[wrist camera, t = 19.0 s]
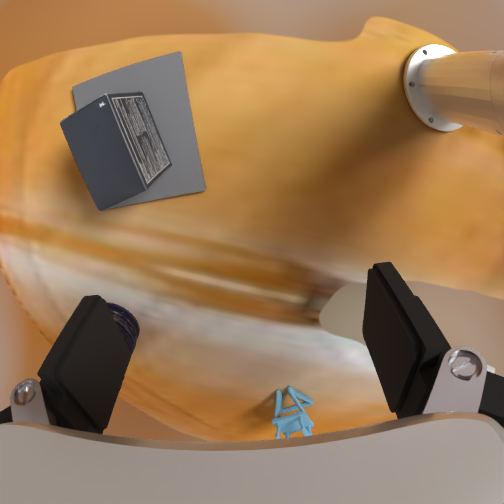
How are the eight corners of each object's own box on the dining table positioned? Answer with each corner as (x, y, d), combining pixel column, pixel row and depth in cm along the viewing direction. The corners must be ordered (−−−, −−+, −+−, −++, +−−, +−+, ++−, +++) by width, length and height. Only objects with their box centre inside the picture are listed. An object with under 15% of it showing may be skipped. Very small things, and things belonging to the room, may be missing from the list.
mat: (181, 52, 30) (179, 51, 30) (206, 188, 39) (205, 190, 38) (75, 86, 31) (72, 86, 30) (104, 208, 39) (102, 210, 39)
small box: (99, 113, 32) (55, 122, 23) (143, 89, 32) (107, 89, 22) (130, 184, 37) (96, 214, 28) (174, 165, 36) (149, 190, 27)
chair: (300, 381, 57) (308, 432, 47) (313, 400, 61) (321, 446, 50) (265, 393, 59) (268, 442, 48) (281, 410, 62) (285, 456, 52)
